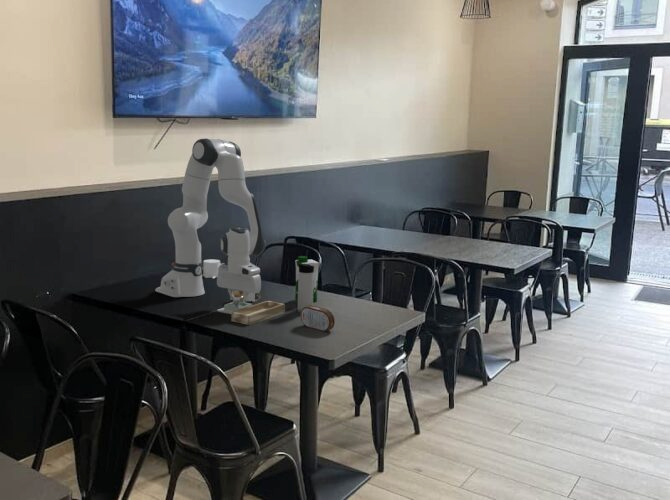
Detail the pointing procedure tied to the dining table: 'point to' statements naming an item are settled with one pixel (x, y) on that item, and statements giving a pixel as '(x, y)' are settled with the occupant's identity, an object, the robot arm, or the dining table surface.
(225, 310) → the checker cradle
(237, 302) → the cell
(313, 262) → the milk carton
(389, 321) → the dining table surface
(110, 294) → the dining table surface
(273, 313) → the trough
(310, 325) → the tin
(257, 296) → the medicine bottle
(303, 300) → the travel mug
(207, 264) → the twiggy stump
